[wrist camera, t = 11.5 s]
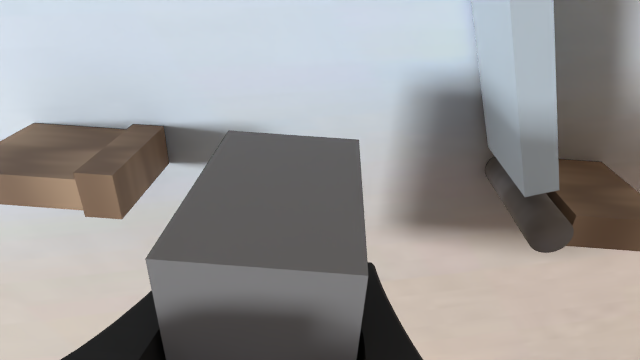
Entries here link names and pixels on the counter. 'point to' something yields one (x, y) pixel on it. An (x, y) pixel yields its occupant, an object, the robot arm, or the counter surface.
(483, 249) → the counter surface
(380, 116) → the counter surface
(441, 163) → the counter surface
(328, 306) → the doorstop block
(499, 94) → the door
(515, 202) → the door frame
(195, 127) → the counter surface
